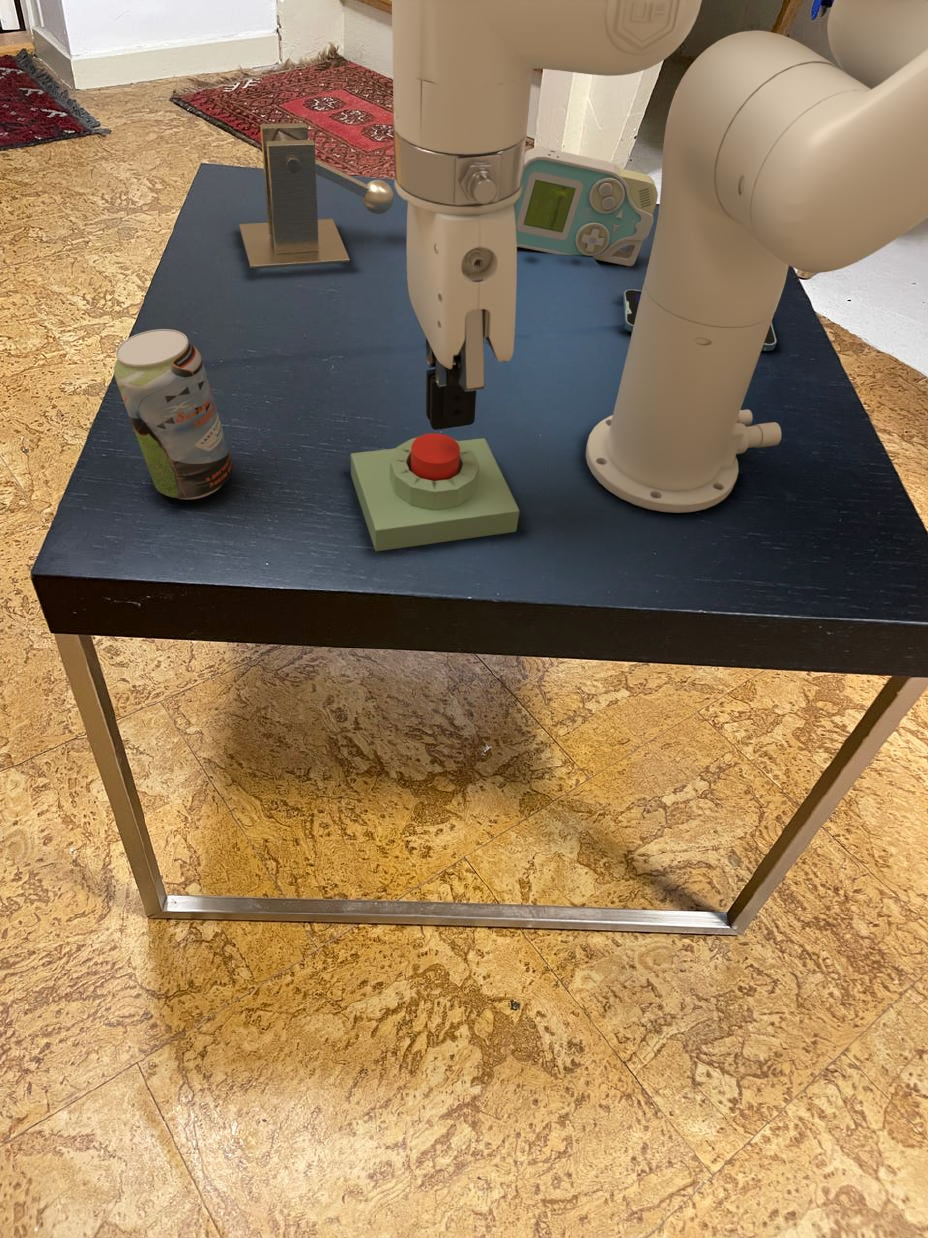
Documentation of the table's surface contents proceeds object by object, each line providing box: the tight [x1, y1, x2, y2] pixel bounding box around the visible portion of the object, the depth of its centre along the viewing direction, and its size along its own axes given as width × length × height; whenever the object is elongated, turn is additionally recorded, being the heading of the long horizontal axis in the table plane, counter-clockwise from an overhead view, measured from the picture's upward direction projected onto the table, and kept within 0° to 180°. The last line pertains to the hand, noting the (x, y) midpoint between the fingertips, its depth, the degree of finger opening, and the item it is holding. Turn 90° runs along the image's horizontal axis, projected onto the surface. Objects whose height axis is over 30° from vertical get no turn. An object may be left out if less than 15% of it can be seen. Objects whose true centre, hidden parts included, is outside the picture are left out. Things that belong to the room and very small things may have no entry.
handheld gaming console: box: [513, 146, 659, 267], centre depth 99 cm, size 11×3×15 cm
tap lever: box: [274, 131, 394, 215], centre depth 94 cm, size 13×3×3 cm, turn 106°
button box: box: [350, 436, 520, 552], centre depth 72 cm, size 11×9×4 cm
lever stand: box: [238, 122, 351, 270], centre depth 94 cm, size 10×9×12 cm
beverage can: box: [113, 328, 234, 500], centre depth 69 cm, size 6×7×12 cm
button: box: [411, 432, 460, 481], centre depth 71 cm, size 4×4×2 cm
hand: (450, 420), depth 69 cm, fingers closed
